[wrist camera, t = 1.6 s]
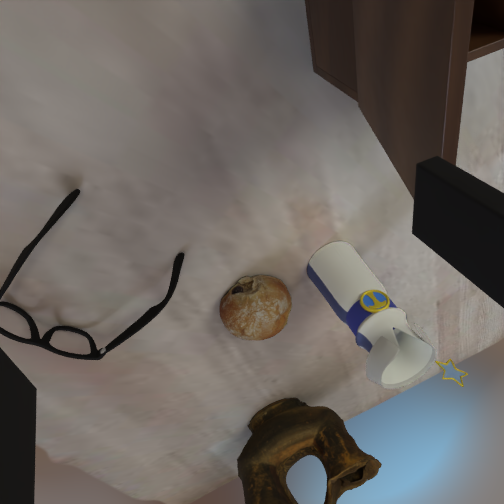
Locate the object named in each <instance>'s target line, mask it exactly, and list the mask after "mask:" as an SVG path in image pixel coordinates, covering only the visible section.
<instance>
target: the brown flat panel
mask: <svg viewBox="0 0 504 504" xmlns="http://www.w3.org/2000/svg"><path fill="white" fill-rule="evenodd" d="M352 4H353V21H354V38H355V55H356V72H357V89H358V107H359V108H360V110H361V112H362V113H363V115H364V117H365V118H366V120H367V122H368V123H369V125H370V127H371V128H372V130H373V132H374V133H375V135H376V137H377V138H378V140H379V142H380V143H381V145H382V147H383V148H384V150H385V152H386V154H387V155H388V157H389V159H390V160H391V162H392V164H393V165H394V167H395V169H396V170H397V172H398V174H399V175H400V177H401V179H402V180H403V182H404V184H405V185H406V187H407V189H408V190H409V192H410V194H411V195H412V197H413V199H414V194H415V178H416V164H417V163H419V162H422V161H425V160H427V159H430V158H432V157H435V156H439V157H441V158H442V159H444V160H446V161H448V162H449V163H451V164H453V165H455V166H456V157H457V148H458V139H459V131H460V122H461V113H462V104H463V95H464V86H465V77H466V69H467V60H468V51H469V42H470V33H471V24H472V15H473V6H474V0H352Z"/></svg>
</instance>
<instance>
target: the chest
mask: <svg viewBox="0 0 504 504" xmlns="http://www.w3.org/2000/svg"><path fill="white" fill-rule="evenodd" d="M305 5H306V13H307V21H308V29H309V37H310V45H311V53H312V61H313V69H314V72H315V73H316V74H318V75H319V76H321V77H322V78H323V79H325V80H326V81H328V82H329V83H331V84H332V85H334V86H335V87H337V88H338V89H340V90H341V91H342V92H344V93H345V94H347V95H348V96H350V97H351V98H353V99H354V100H356V101H357V102H358V89H357V72H356V55H355V38H354V21H353V4H352V0H305ZM503 48H504V0H474V6H473V15H472V24H471V33H470V42H469V51H468V60H467V62H469V61H472V60H474V59H477V58H479V57H482V56H485V55H487V54H490V53H492V52H495V51H497V50H500V49H503Z"/></svg>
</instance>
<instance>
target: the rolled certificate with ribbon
mask: <svg viewBox="0 0 504 504" xmlns="http://www.w3.org/2000/svg"><path fill="white" fill-rule="evenodd" d="M307 274H308V276H309V278H310V279H311V280H312V282H313V283H314V284H315V286H316V287H317V288H318V289H319V291H320V292H321V293H322V295H323V296H324V297H325V299H326V300H327V302H328V303H329V305H330V306H331V307H332V309H333V310H334V312H335V313H336V315H337V316H338V317H339V318H340V320H341V321H343V322H344V323H345V324H346V325H348V326H349V328H350V329H351V330H352V332H353V333H354V335H355V336H356V343H357V345H358V346H359V347H360V348H363V349H366V350H367V351H368V352H369V354H368V357H367V361H366V375H367V377H368V378H369V379H370V380H371V381H373V382H374V383H376V384H378V385H380V386H382V387H383V388H385V389H398V388H401V387H404V386H407V385H409V384H411V383H413V382H414V381H416V380H417V379H419V378H420V377H422V376H423V375H424V374H425V373H426V372H427V371H428V370H429V369H430V368H431V366H432V365H433V363H434V361H435V359H436V355H437V351H436V348H435V347H434V345H433V344H432V342H431V341H430V339H429V338H428V336H427V335H426V334H425V332H424V331H423V330H422V329H421V328H420V327H419V326H418V325H417V324H415V323H414V325H415V327H416V329H417V330H418V332H419V334H420V335H421V337H422V338H420V337H419V336H418V335H417V334H416V333H415V332H414V331H413V330H412V329H411V328H410V326H409V324H408V323H407V316H406V313H405V312H404V311H403V310H402V309H399V308H397V307H396V306H395V304H394V303H393V302H392V301H391V300H390V298H389V297H388V294H387V292H386V290H385V288H384V287H383V285H382V284H381V283H380V281H379V280H378V279H377V278H376V276H375V275H374V274H373V273H372V271H371V270H370V269H369V268H368V266H367V265H366V264H365V262H364V261H363V260H362V258H361V257H360V256H359V254H358V253H357V252H356V250H355V249H354V248H353V246H352V245H351V244H349V243H348V242H344V241H336V242H332V243H329V244H327V245H325V246H323V247H322V248H320V249H319V250H318V251H317V252H316V253H315V254H314V255H313V256H312V258H311V259H310V261H309V263H308V267H307ZM435 362H436V363H437V364H438V365H439V366H440V367H441V368H442V369H443V370H444V374H443V378H442V379H453V380H454V381H456V382H457V383H458V384H459V385H460V386H462V387H463V382H462V378H461V377H464V376H466V375H468V374H467V373H466V372H463V371H461V370H459V369H457V368H456V367H455V365H454V363H453V361H452V360H451V359H449V360H448V361H447V362H446V363H442V362H438V361H435Z"/></svg>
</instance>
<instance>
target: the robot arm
mask: <svg viewBox="0 0 504 504" xmlns="http://www.w3.org/2000/svg"><path fill="white" fill-rule="evenodd" d="M412 234H414V235H415V236H416V237H417V238H419V239H420V240H421V241H422V242H423V243H425V244H426V245H427V246H428V247H430V248H431V249H432V250H433V251H434V252H436V253H437V254H438V255H439V256H441V257H442V258H443V259H444V260H445V261H447V262H448V263H449V264H450V265H452V266H453V267H454V268H455V269H456V270H458V271H459V272H460V273H461V274H463V275H464V276H465V277H466V278H467V279H469V280H470V281H471V282H472V283H474V284H475V285H476V286H477V287H478V288H480V289H481V290H482V291H483V292H485V293H486V294H487V295H488V296H489V297H491V298H492V299H493V300H494V301H496V302H497V303H498V304H499V305H500V306H502V307H503V308H504V193H502V192H501V191H499V190H497V189H495V188H494V187H492V186H490V185H488V184H486V183H485V182H483V181H481V180H479V179H478V178H476V177H474V176H472V175H471V174H469V173H467V172H465V171H464V170H462V169H460V168H458V167H456V166H455V165H453V164H451V163H449V162H448V161H446V160H444V159H442V158H441V157H439V156H435V157H432V158H430V159H427V160H425V161H422V162H419V163H417V164H416V178H415V194H414V210H413V226H412ZM36 390H37V389H36V388H35V387H34V385H33V384H32V383H31V382H30V381H29V380H28V379H27V377H26V376H25V375H24V374H23V373H22V372H21V371H20V370H19V368H18V367H17V366H16V365H15V364H14V363H13V362H12V360H11V359H10V358H9V357H8V356H7V355H6V354H5V352H4V351H3V350H2V349H1V348H0V504H34V484H35V438H36Z"/></svg>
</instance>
